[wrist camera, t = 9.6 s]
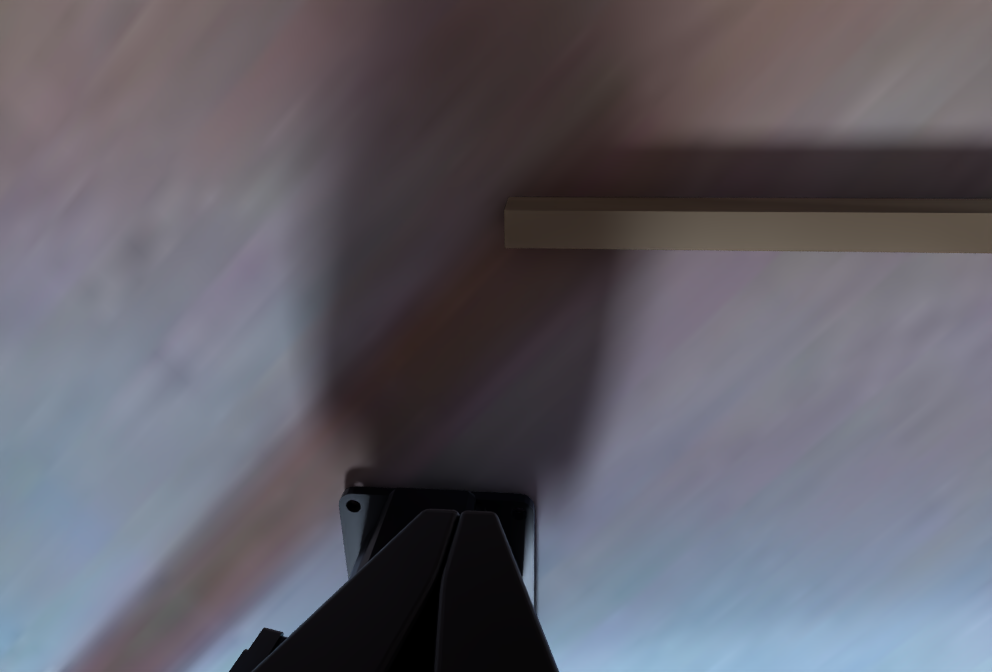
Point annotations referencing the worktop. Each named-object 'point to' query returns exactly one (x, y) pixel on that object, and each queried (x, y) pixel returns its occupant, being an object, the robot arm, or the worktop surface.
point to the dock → (750, 224)
